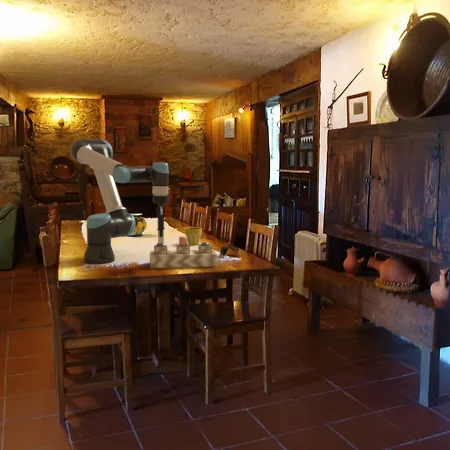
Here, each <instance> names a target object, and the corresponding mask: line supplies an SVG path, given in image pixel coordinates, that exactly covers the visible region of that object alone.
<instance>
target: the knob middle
mask: <svg viewBox="0 0 450 450" xmlns="http://www.w3.org/2000/svg"><path fill="white" fill-rule="evenodd" d="M187 244H188V241H187V236H178V245H179V246H180V247H186V246H187Z"/></svg>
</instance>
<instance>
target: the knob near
mask: <svg viewBox="0 0 450 450" xmlns="http://www.w3.org/2000/svg"><path fill="white" fill-rule="evenodd" d="M156 245H157V247H165V245H166V244H165V242H164V243H160V244H158V242H157V243H156Z"/></svg>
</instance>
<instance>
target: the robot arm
mask: <svg viewBox="0 0 450 450" xmlns="http://www.w3.org/2000/svg"><path fill="white" fill-rule="evenodd" d="M69 152H70V153H69V154H70V156H71V158H72V159H73V160H74V161H76V162H77V163H80V164H81V165H88V167H89V168H90V169H92V170H93V172H94V175H95V176H94V177H95V178H96V181H97V185H98V188H99V191H100V194H101V197H102V200H103V201H102V202H103V203H104V207H105V210H106V212H103V213H96V214H92V215H89V216H87V219H86V245H87V246H86V249H85V252H84V255H83V262H84V263H86V264H92V263H93V264H92V265H96V264H97V265H99V264H100V263H103V264H109V263H108V262H110V263H112V262H115V260H116V256H115V254H114V253H115V252H114V250H113V247H112V239H116V238H121V237H122V238H125V237H126V236H130V235H132V233H134V231H135V229H136V219H135V217H134V215H132V214H131V213H129V212H128V210H127V208H126V207H124V206H123V204H122V202H121V201H122V200H121V197H120V194H119V191H118V187H117V184H116V183H119V184H126V183H142V182H143V183H152V204H157V206H156V215H157V229H156V230H157V243H158V244H160V243H165V235H164V234H165V231H164V230H165V229H166V227H165V212H166V206H165V205H164V204H168V203H169V191H170V190H171V188H170V187H169V175H170V174H169V173H170V171H169V164H168V163H167V162H153V163H152V166H149V165H148V166H147V165H136V166H128V165H125V164H123V163H121V162H119V161H117V160H114V159H113V153H114V152H113V147H112V145H111V144H110V143H109V141H107V140H104V139H100V138H99V139H98V138H97V139H89V138H79V139H77V140H75V141H73V142H72V144H71V145H70V148H69ZM100 265H101V264H100Z"/></svg>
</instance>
